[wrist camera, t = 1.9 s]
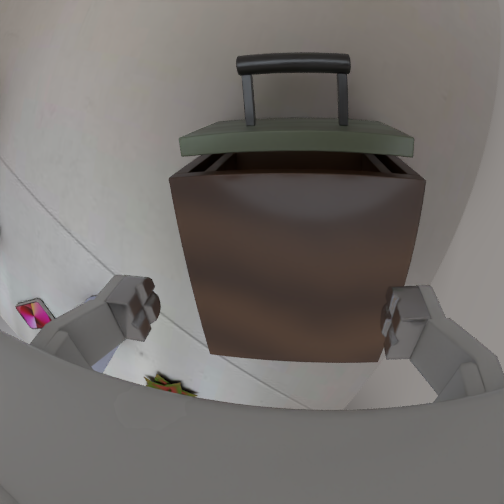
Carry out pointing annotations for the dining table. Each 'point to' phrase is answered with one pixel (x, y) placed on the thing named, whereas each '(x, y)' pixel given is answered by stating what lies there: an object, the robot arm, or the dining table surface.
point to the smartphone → (34, 313)
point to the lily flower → (167, 386)
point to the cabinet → (296, 256)
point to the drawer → (297, 127)
